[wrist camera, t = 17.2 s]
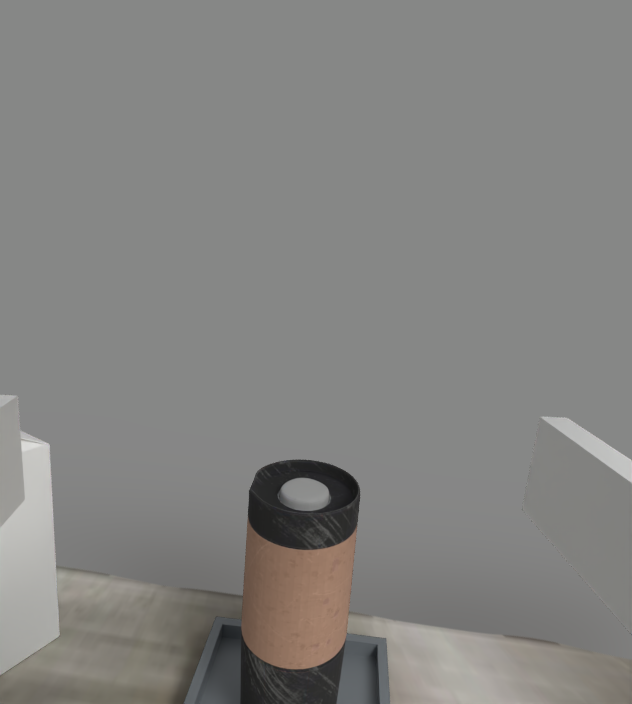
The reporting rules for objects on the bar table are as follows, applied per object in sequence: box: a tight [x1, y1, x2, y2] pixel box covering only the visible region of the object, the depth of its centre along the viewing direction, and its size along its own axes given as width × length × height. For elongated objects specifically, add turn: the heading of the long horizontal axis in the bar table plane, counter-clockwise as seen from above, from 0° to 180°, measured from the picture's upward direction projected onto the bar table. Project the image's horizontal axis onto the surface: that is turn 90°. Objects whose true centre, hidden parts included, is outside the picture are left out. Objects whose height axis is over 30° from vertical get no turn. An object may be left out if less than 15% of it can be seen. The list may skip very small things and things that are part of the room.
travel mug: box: [240, 460, 360, 704], centre depth 37 cm, size 8×8×20 cm
